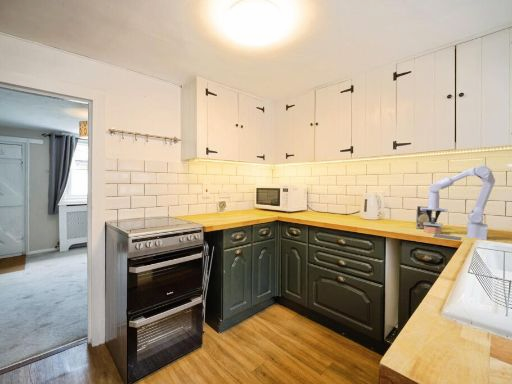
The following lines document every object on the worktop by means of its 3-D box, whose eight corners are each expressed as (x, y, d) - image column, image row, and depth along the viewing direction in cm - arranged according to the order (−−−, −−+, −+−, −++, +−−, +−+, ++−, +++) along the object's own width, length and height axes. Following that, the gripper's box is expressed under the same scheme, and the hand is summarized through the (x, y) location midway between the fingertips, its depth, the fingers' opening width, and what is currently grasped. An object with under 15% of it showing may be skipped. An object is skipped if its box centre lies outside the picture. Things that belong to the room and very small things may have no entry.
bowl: (441, 233, 165) (441, 226, 165) (440, 235, 159) (440, 228, 158) (425, 231, 171) (425, 224, 171) (423, 233, 165) (423, 226, 164)
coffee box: (416, 228, 180) (417, 206, 180) (415, 227, 186) (416, 206, 185) (431, 230, 176) (432, 207, 175) (430, 228, 181) (431, 207, 181)
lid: (442, 224, 165) (442, 217, 165) (441, 226, 158) (442, 219, 158) (424, 223, 172) (424, 216, 172) (422, 224, 164) (423, 217, 164)
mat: (461, 237, 151) (461, 237, 151) (460, 241, 142) (460, 240, 142) (435, 234, 160) (435, 234, 160) (432, 237, 151) (432, 236, 151)
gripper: (419, 201, 166) (419, 221, 167) (447, 202, 156) (446, 224, 157) (421, 200, 171) (420, 220, 172) (448, 202, 162) (447, 222, 162)
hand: (432, 222), depth 165 cm, fingers closed on lid, 2 cm apart
